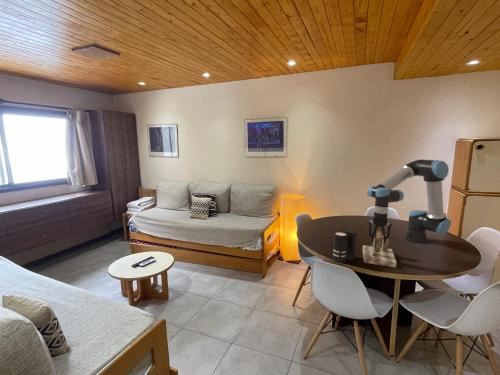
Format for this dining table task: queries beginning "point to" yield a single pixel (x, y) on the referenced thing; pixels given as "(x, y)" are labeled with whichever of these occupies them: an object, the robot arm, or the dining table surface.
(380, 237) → the oak peg
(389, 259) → the seat board
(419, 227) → the robot arm
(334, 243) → the striped black canister
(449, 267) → the dining table surface
